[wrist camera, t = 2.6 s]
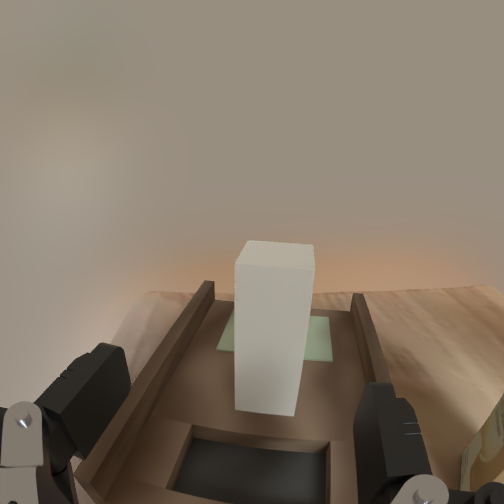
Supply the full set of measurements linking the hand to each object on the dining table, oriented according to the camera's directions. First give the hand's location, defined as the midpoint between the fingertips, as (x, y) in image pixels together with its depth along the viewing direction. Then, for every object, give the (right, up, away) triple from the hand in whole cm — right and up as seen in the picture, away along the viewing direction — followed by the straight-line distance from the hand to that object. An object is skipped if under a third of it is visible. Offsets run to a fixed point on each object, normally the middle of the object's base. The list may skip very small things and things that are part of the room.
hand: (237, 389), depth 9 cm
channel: (+2, -9, +15) cm, 18 cm away
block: (+2, -7, +14) cm, 16 cm away
